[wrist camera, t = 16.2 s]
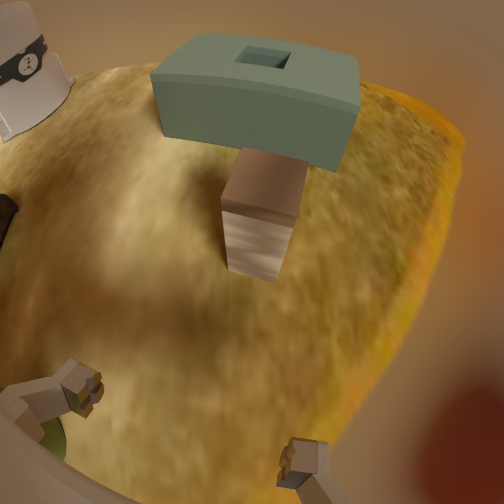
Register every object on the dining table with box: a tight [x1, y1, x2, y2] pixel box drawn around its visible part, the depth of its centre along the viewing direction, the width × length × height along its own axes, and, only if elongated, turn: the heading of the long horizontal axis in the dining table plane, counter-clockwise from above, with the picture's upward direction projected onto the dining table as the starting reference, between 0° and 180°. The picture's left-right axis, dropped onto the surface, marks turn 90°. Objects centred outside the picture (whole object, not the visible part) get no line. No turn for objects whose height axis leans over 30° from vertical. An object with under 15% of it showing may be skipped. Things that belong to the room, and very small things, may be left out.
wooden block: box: [221, 147, 309, 283], centre depth 19 cm, size 4×4×10 cm
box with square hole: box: [150, 33, 361, 172], centre depth 28 cm, size 20×12×9 cm, turn 75°
